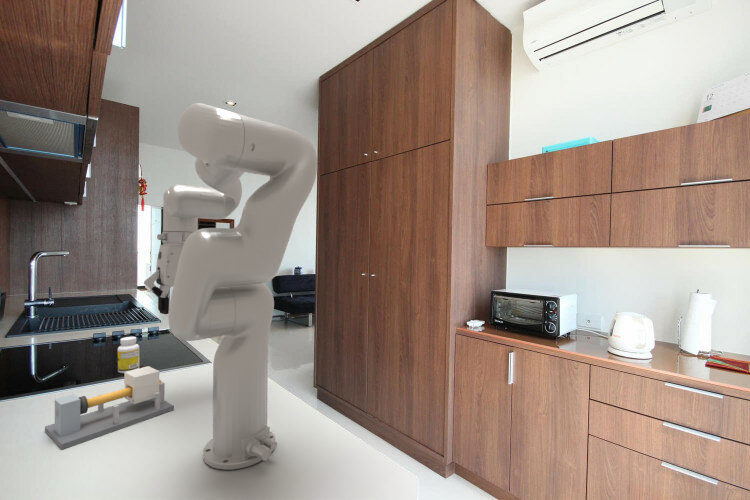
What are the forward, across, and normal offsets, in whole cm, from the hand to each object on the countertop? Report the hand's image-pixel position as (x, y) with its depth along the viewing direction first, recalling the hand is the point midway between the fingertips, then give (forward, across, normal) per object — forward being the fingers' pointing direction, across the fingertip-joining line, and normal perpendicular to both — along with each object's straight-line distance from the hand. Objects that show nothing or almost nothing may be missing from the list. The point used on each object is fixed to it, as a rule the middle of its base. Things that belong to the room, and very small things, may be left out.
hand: (180, 310), depth 88 cm
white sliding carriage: (+19, -8, 0) cm, 21 cm away
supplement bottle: (+22, 0, +32) cm, 39 cm away
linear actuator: (+22, -14, 0) cm, 26 cm away
